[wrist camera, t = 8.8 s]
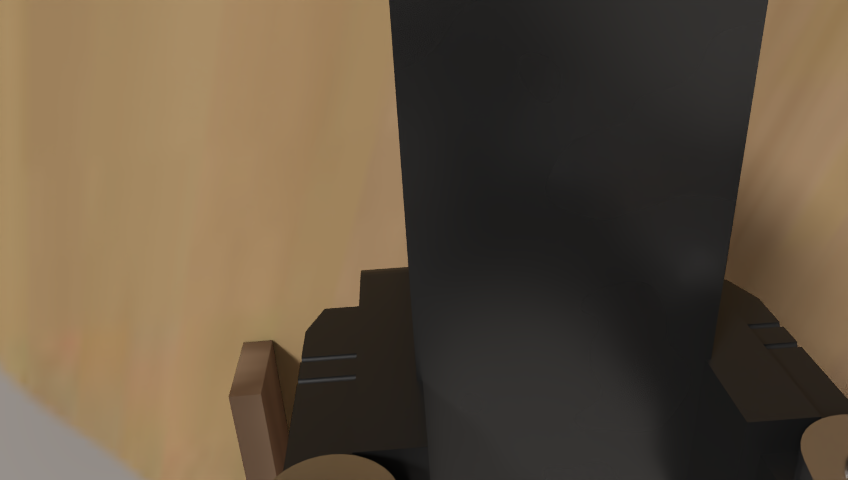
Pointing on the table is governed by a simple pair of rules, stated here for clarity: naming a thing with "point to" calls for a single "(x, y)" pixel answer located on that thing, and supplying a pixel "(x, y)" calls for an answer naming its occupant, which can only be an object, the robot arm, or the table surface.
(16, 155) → the table surface
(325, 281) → the table surface
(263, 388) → the bay
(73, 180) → the table surface
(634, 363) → the long dark grey beam
